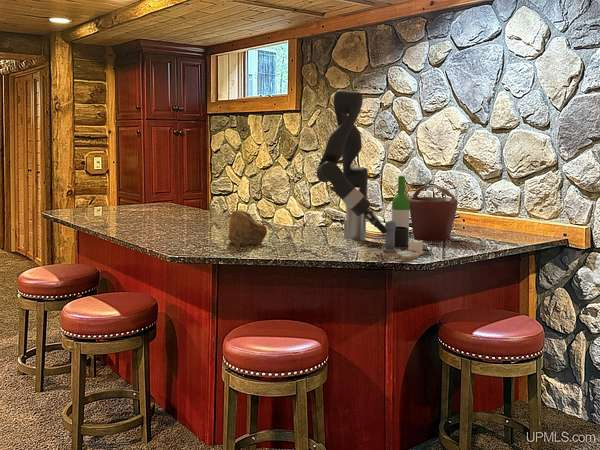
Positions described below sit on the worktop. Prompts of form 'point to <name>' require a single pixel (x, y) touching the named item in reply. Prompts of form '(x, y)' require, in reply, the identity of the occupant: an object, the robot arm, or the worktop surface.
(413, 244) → the die
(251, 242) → the rough brown rock
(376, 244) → the worktop surface
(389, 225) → the pawn
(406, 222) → the wine bottle
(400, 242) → the mug
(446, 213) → the bucket
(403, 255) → the board
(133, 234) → the worktop surface
